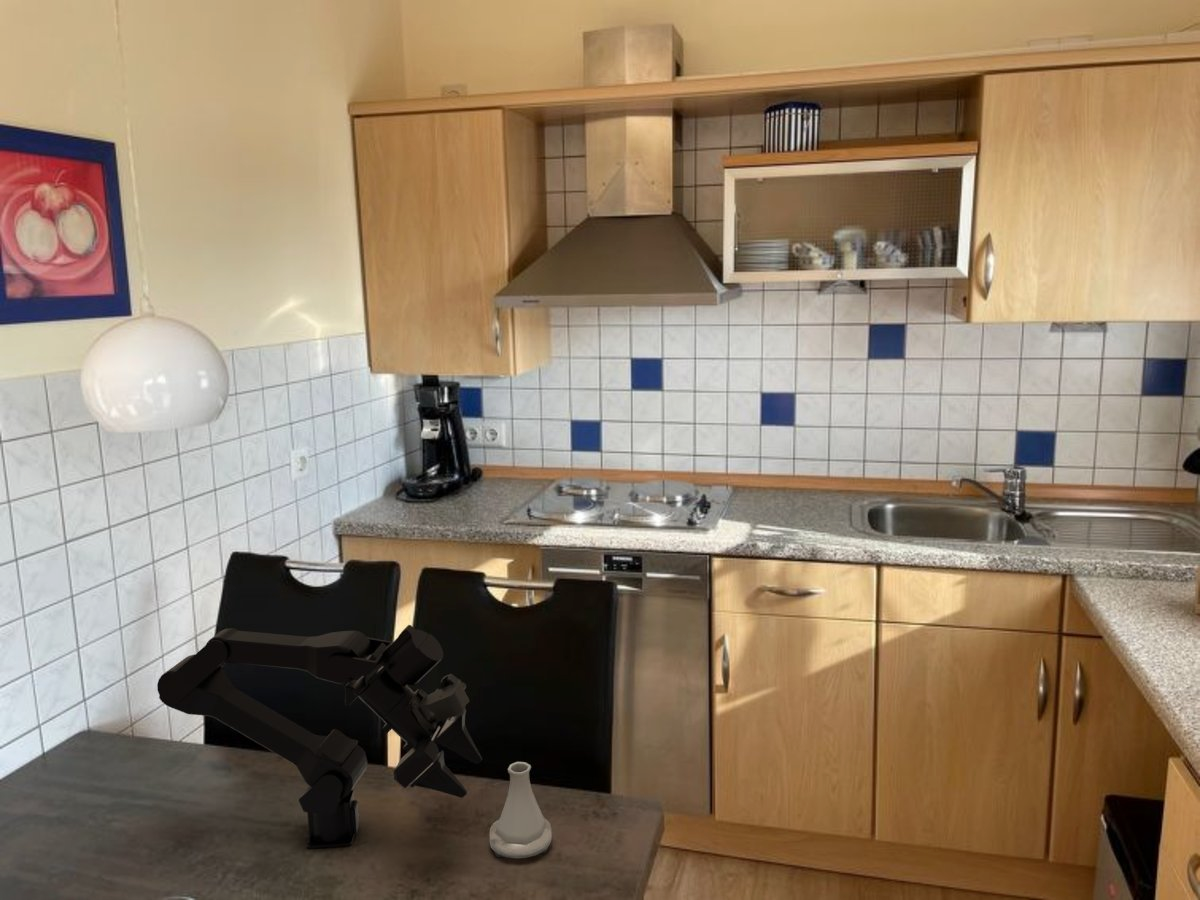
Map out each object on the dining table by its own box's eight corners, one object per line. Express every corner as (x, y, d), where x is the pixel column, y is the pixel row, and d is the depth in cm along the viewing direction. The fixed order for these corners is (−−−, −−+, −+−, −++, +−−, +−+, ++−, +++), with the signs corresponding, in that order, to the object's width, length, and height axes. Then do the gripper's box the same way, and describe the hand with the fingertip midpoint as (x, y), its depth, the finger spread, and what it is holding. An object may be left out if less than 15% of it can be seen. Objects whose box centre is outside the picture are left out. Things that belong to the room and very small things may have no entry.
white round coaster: (489, 866, 130) (488, 850, 129) (490, 829, 138) (490, 814, 138) (552, 862, 130) (552, 846, 130) (550, 825, 139) (550, 810, 139)
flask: (528, 850, 129) (527, 785, 127) (486, 836, 132) (484, 772, 131) (555, 824, 135) (553, 761, 133) (513, 811, 139) (512, 750, 137)
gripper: (413, 696, 122) (497, 777, 122) (450, 642, 140) (522, 713, 141) (358, 748, 124) (441, 828, 125) (401, 688, 142) (473, 758, 143)
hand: (472, 777), depth 133 cm, fingers open, 9 cm apart
